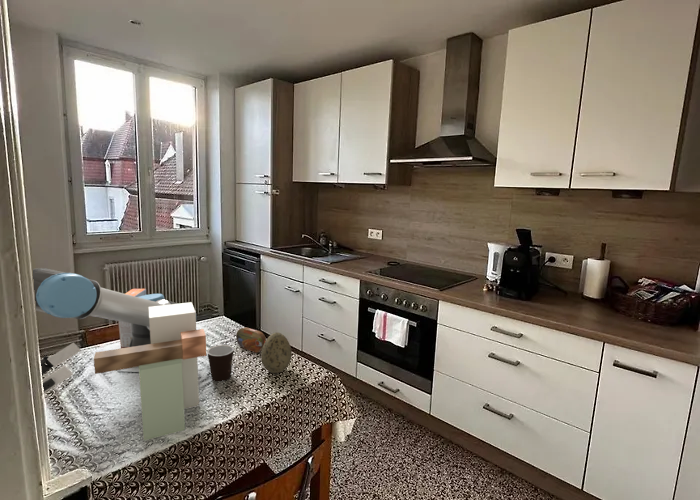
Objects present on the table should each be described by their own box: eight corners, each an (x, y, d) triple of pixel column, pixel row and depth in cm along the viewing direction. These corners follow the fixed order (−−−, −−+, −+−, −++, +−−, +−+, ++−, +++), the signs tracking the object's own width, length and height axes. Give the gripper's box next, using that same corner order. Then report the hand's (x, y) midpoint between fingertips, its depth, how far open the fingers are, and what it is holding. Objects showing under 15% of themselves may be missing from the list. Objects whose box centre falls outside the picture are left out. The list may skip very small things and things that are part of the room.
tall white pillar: (155, 415, 111) (149, 317, 105) (154, 398, 119) (148, 306, 114) (199, 405, 116) (195, 312, 111) (195, 389, 125) (191, 302, 119)
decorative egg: (284, 381, 132) (284, 340, 129) (256, 376, 134) (255, 336, 132) (295, 366, 142) (296, 329, 140) (268, 362, 145) (268, 325, 142)
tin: (235, 345, 158) (235, 326, 157) (241, 343, 161) (241, 324, 160) (262, 355, 151) (262, 335, 149) (267, 352, 153) (267, 332, 152)
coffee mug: (226, 384, 128) (225, 357, 126) (203, 381, 130) (202, 354, 128) (242, 368, 139) (242, 343, 138) (221, 365, 141) (220, 340, 139)
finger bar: (94, 374, 94) (92, 352, 93) (97, 365, 98) (95, 344, 97) (206, 355, 106) (205, 335, 105) (203, 348, 110) (203, 328, 109)
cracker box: (135, 334, 166) (132, 288, 162) (149, 334, 166) (147, 288, 163) (119, 348, 152) (115, 298, 148) (134, 348, 153) (131, 298, 149)
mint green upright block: (143, 440, 100) (138, 366, 96) (143, 421, 108) (138, 352, 104) (184, 430, 105) (181, 359, 101) (181, 412, 113) (178, 346, 109)
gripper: (7, 399, 98) (89, 348, 105) (-30, 462, 77) (76, 393, 84) (-16, 379, 95) (70, 328, 102) (-61, 439, 74) (52, 369, 81)
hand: (73, 357), depth 93 cm, fingers open, 13 cm apart
